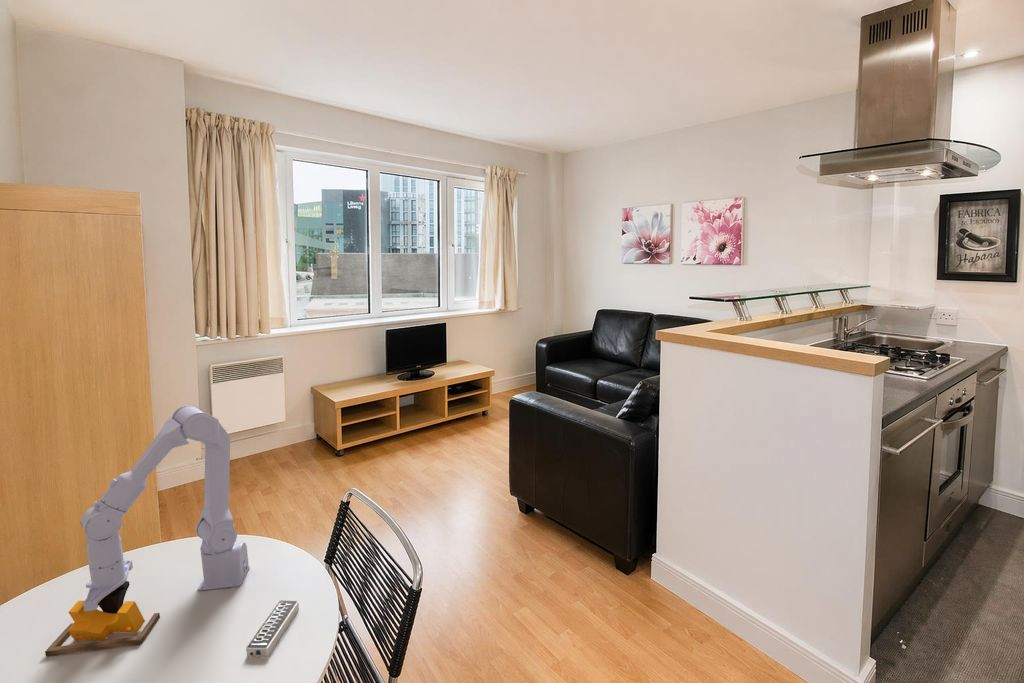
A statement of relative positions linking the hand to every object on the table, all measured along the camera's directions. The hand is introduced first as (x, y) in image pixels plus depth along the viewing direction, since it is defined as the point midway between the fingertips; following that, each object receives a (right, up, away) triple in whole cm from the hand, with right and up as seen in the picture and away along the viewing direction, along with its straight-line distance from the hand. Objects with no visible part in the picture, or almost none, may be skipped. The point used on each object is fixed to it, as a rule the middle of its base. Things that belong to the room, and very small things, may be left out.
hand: (114, 618), depth 111 cm
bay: (+1, -2, -3) cm, 4 cm away
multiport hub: (+35, -2, -2) cm, 35 cm away
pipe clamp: (+1, -1, -2) cm, 3 cm away
